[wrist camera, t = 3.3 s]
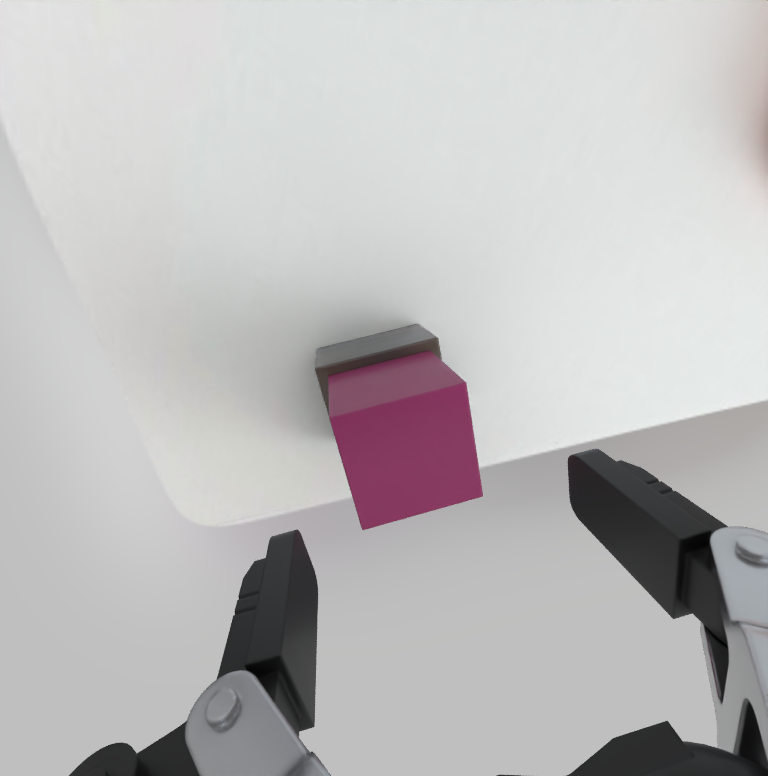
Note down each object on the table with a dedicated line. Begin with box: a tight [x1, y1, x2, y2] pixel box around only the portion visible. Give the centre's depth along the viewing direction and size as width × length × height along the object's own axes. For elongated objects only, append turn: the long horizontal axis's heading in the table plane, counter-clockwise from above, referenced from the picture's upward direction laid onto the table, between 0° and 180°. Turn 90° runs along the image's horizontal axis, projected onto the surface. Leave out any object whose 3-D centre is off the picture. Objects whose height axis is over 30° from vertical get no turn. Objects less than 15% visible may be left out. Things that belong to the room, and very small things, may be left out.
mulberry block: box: [328, 350, 483, 530], centre depth 17 cm, size 5×5×5 cm
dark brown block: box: [315, 324, 442, 415], centre depth 21 cm, size 6×6×4 cm
